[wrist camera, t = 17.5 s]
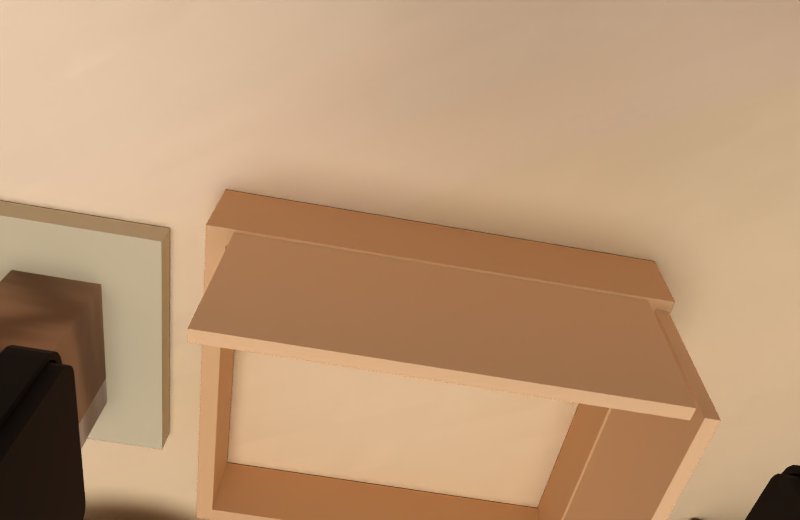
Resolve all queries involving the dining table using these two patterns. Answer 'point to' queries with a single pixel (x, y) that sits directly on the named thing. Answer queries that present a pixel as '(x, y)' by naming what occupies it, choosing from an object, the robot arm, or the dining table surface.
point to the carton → (448, 354)
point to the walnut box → (60, 331)
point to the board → (108, 305)
